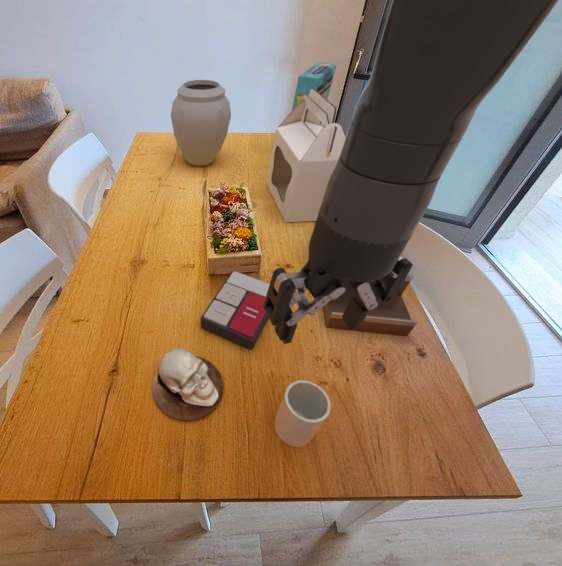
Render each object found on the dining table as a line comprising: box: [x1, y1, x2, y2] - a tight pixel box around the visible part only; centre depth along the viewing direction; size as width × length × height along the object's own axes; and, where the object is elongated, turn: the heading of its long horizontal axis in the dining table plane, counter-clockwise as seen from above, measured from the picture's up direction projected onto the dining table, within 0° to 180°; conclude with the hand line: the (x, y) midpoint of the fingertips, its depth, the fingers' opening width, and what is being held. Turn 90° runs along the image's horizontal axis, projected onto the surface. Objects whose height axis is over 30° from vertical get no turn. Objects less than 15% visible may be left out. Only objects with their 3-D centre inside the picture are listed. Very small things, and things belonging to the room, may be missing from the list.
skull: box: [151, 347, 224, 421], centre depth 55 cm, size 12×10×10 cm
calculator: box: [200, 270, 270, 351], centre depth 67 cm, size 11×4×15 cm
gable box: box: [266, 89, 346, 223], centre depth 89 cm, size 22×13×28 cm, turn 4°
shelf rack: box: [322, 274, 418, 337], centre depth 68 cm, size 26×15×16 cm, turn 171°
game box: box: [291, 61, 337, 125], centre depth 111 cm, size 20×6×27 cm, turn 148°
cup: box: [273, 379, 332, 448], centre depth 48 cm, size 6×6×9 cm
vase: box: [170, 79, 232, 167], centre depth 110 cm, size 20×20×24 cm
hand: (316, 330), depth 39 cm, fingers open, 8 cm apart
